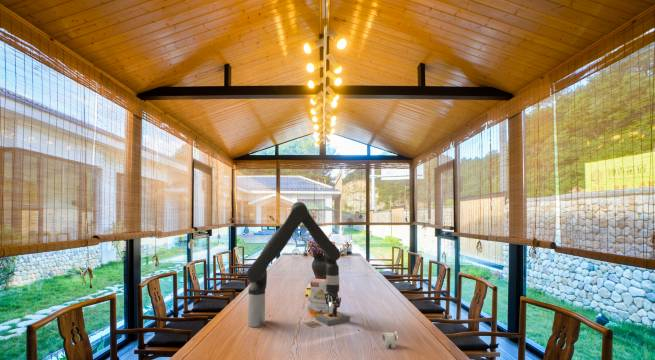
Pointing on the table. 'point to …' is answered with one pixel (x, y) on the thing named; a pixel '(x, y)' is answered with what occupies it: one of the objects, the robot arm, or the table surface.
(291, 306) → the table surface
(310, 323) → the brown rectangular block
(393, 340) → the elephant figurine
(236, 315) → the table surface
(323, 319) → the hole block
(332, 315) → the steel peg
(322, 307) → the cracker box
